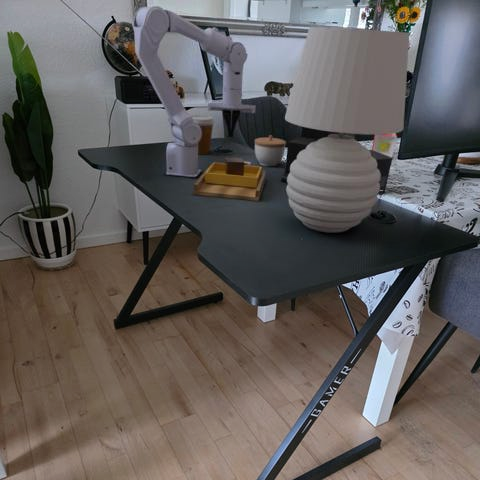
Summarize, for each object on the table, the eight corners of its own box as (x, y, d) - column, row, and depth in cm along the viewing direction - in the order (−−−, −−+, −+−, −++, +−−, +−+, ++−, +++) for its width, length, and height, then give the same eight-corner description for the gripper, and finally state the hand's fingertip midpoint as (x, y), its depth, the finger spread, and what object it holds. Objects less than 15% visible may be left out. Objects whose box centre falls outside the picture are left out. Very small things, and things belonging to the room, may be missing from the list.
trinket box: (281, 169, 152) (284, 140, 147) (250, 166, 153) (252, 136, 148) (285, 162, 161) (288, 134, 156) (256, 159, 162) (258, 131, 157)
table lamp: (322, 201, 124) (350, 30, 103) (400, 231, 108) (451, 36, 87) (253, 217, 111) (267, 24, 89) (329, 254, 94) (370, 28, 73)
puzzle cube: (371, 156, 177) (376, 134, 173) (371, 152, 184) (375, 131, 180) (392, 158, 176) (397, 137, 172) (391, 154, 183) (395, 133, 178)
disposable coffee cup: (191, 148, 170) (190, 114, 164) (215, 150, 170) (216, 116, 163) (185, 154, 163) (184, 118, 156) (210, 156, 162) (211, 120, 155)
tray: (204, 182, 129) (204, 172, 128) (216, 167, 144) (216, 158, 143) (256, 187, 128) (257, 177, 126) (263, 171, 143) (263, 162, 141)
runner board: (193, 194, 123) (193, 184, 122) (209, 174, 141) (209, 165, 140) (258, 201, 122) (259, 190, 120) (265, 179, 140) (266, 170, 138)
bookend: (312, 188, 135) (324, 102, 122) (280, 181, 139) (289, 97, 127) (339, 173, 152) (352, 96, 139) (309, 167, 157) (320, 92, 144)
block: (226, 179, 131) (227, 161, 128) (225, 174, 135) (225, 157, 133) (243, 179, 132) (244, 162, 129) (241, 175, 136) (242, 158, 133)
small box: (347, 184, 140) (353, 149, 135) (364, 183, 143) (371, 149, 137) (368, 195, 132) (375, 158, 127) (385, 193, 135) (394, 157, 129)
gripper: (207, 88, 131) (206, 137, 138) (256, 91, 131) (253, 140, 138) (209, 86, 137) (208, 133, 144) (256, 88, 137) (253, 135, 144)
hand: (230, 136), depth 142 cm, fingers closed
